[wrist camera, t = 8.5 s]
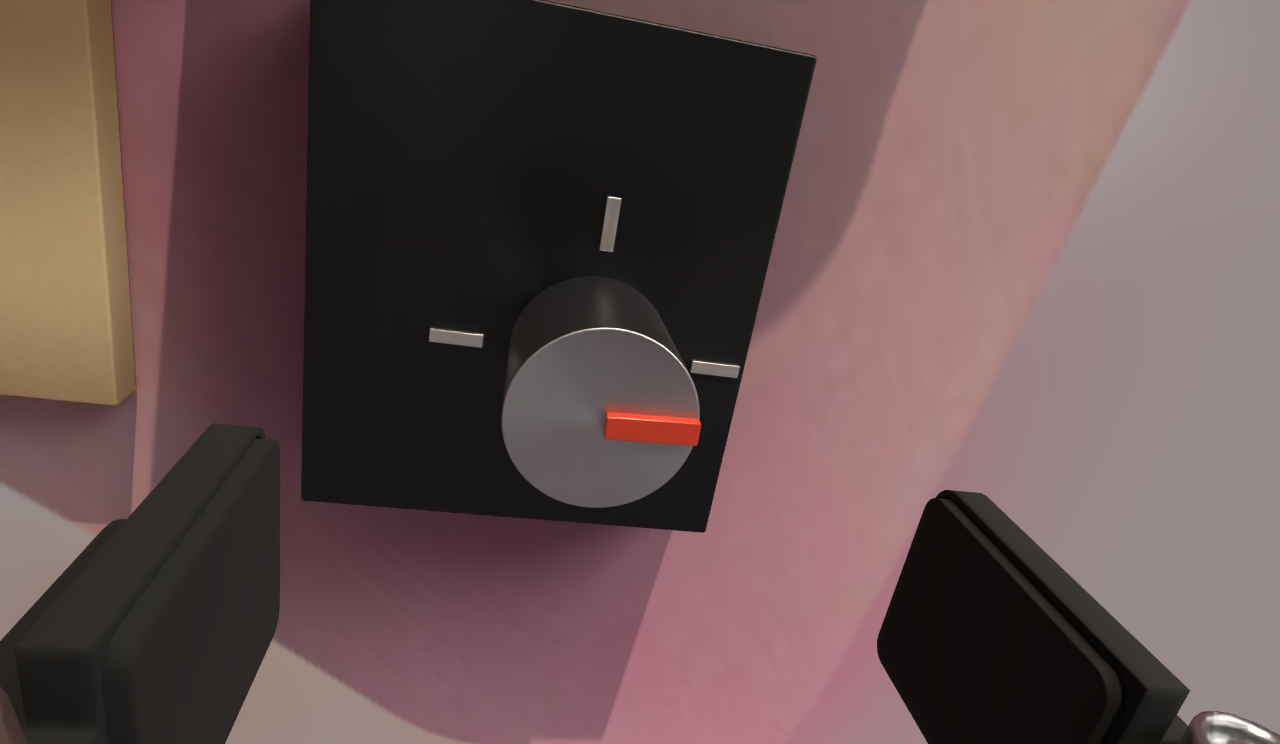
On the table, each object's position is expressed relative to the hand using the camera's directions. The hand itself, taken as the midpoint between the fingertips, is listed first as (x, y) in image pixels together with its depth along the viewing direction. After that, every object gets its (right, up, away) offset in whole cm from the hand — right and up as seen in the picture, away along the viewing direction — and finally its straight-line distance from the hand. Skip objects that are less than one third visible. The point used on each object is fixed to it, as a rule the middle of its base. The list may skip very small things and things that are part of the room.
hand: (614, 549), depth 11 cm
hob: (-3, +6, +12) cm, 14 cm away
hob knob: (-1, +3, +10) cm, 11 cm away
